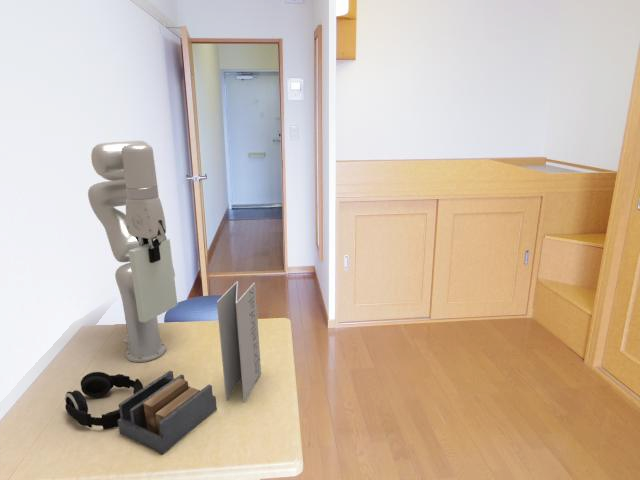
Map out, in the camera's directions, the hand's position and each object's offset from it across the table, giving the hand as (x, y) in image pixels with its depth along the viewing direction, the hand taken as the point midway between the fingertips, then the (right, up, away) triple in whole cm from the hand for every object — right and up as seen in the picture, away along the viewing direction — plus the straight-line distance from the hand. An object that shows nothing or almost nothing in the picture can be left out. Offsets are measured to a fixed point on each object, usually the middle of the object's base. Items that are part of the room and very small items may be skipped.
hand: (151, 260), depth 125 cm
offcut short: (+10, -42, -5) cm, 44 cm away
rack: (+6, -42, -3) cm, 42 cm away
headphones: (-13, -41, +2) cm, 43 cm away
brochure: (+23, -37, +10) cm, 45 cm away
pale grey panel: (0, -15, +5) cm, 16 cm away
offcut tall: (+6, -42, -3) cm, 42 cm away
